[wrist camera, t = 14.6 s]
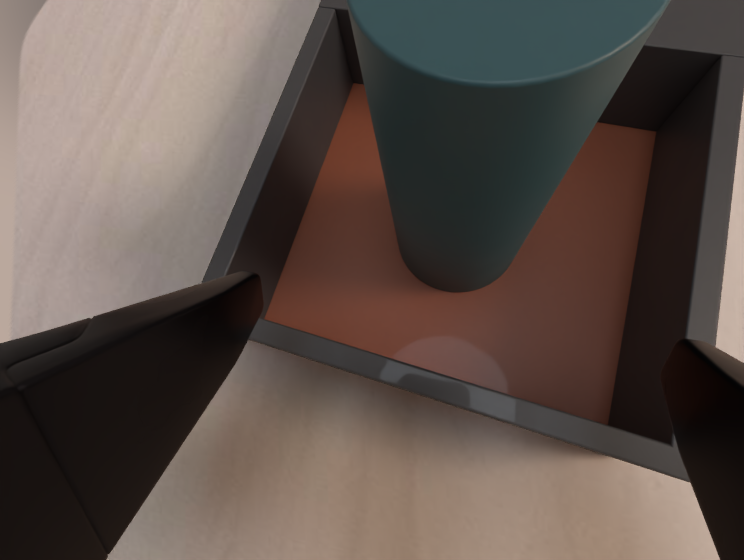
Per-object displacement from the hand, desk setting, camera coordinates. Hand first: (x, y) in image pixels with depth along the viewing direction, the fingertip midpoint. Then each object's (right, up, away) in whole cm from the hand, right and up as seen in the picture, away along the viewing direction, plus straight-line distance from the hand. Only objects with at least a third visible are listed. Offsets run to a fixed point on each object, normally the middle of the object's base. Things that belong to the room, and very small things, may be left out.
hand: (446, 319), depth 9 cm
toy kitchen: (+7, +17, +13) cm, 23 cm away
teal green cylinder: (+2, +3, +9) cm, 10 cm away
